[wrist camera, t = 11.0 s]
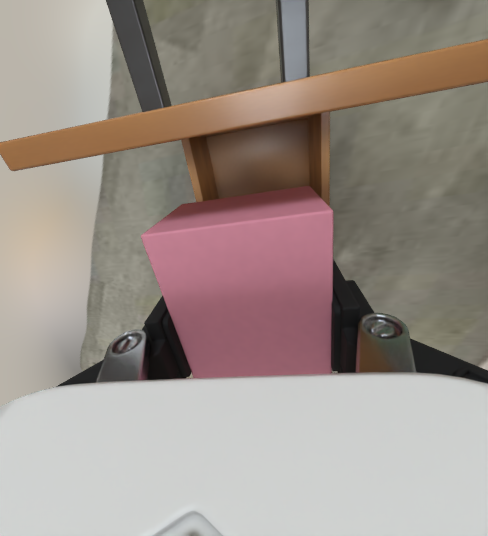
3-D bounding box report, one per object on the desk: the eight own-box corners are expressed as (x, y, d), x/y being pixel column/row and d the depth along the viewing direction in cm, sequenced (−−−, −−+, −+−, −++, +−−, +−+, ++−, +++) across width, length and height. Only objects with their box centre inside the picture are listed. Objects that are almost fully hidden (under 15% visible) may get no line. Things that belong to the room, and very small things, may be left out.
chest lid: (504, 78, 5) (737, -630, 2) (10, 172, 7) (-200, -154, 4) (331, 103, 18) (333, 4, 15) (177, 132, 19) (155, 49, 17)
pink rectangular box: (180, 204, 11) (139, 235, 7) (309, 185, 10) (334, 210, 6) (221, 350, 15) (207, 416, 11) (314, 345, 14) (331, 414, 10)
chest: (316, 242, 31) (329, 269, 24) (225, 252, 32) (215, 279, 26) (313, 109, 24) (330, 98, 18) (200, 131, 26) (178, 128, 20)
